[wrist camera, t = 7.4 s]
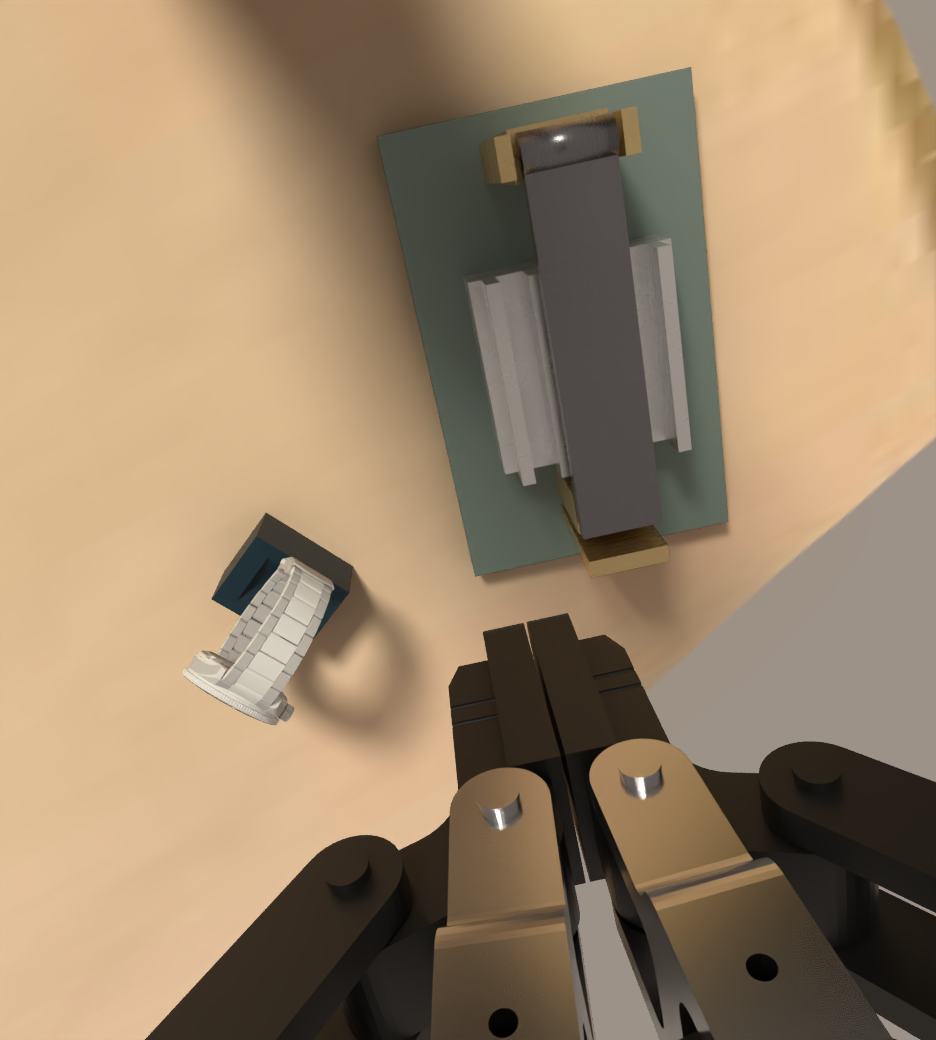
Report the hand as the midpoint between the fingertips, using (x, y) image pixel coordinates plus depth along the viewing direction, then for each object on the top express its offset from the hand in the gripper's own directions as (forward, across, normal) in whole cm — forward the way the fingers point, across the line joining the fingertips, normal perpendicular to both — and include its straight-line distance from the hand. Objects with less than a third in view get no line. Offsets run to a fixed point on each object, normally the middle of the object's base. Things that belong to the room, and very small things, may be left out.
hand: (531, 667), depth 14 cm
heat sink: (+27, -6, +1) cm, 28 cm away
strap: (+22, -6, 0) cm, 23 cm away
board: (+29, -6, +1) cm, 30 cm away
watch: (+29, +11, +10) cm, 33 cm away
